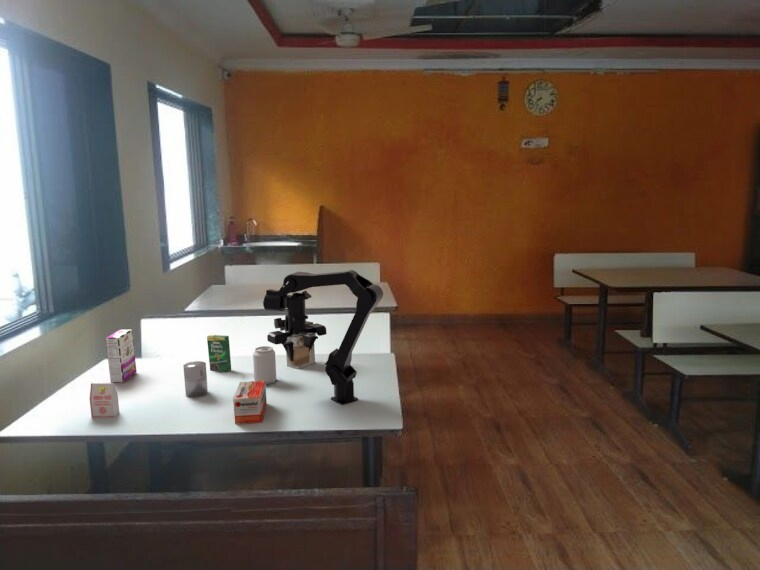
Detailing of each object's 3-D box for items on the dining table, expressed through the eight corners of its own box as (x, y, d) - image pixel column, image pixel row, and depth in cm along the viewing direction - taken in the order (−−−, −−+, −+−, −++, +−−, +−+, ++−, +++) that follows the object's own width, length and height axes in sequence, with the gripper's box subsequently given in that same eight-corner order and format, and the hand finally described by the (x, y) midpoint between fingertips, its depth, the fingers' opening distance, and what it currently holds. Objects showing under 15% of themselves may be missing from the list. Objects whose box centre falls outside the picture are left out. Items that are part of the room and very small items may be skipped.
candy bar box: (123, 372, 220) (119, 329, 217) (137, 372, 220) (133, 329, 217) (109, 383, 209) (104, 337, 206) (123, 383, 209) (119, 337, 206)
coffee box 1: (208, 370, 221) (206, 335, 218) (213, 367, 223) (211, 333, 221) (227, 372, 218) (225, 337, 216) (231, 370, 221) (229, 335, 218)
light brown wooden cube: (309, 362, 192) (308, 347, 191) (295, 366, 189) (295, 350, 188) (301, 359, 196) (300, 344, 195) (287, 362, 193) (287, 347, 192)
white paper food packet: (97, 412, 183) (94, 381, 181) (119, 412, 183) (116, 381, 181) (91, 417, 179) (88, 385, 177) (114, 417, 179) (110, 385, 177)
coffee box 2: (303, 360, 231) (301, 319, 228) (315, 363, 227) (314, 322, 224) (286, 366, 224) (284, 324, 221) (298, 369, 220) (296, 327, 217)
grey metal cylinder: (211, 394, 197) (209, 364, 195) (190, 399, 192) (188, 369, 190) (202, 388, 202) (200, 359, 200) (182, 393, 198) (180, 364, 196)
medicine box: (240, 405, 187) (239, 380, 186) (267, 403, 188) (265, 379, 187) (234, 425, 172) (232, 398, 171) (262, 423, 173) (261, 397, 172)
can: (278, 378, 211) (277, 345, 209) (273, 385, 204) (271, 351, 202) (258, 377, 212) (256, 344, 210) (251, 384, 205) (249, 351, 203)
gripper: (308, 303, 202) (310, 348, 204) (258, 312, 190) (260, 359, 193) (326, 309, 193) (328, 356, 196) (274, 318, 182) (277, 367, 184)
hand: (298, 359), depth 192 cm, fingers closed on light brown wooden cube, 5 cm apart
